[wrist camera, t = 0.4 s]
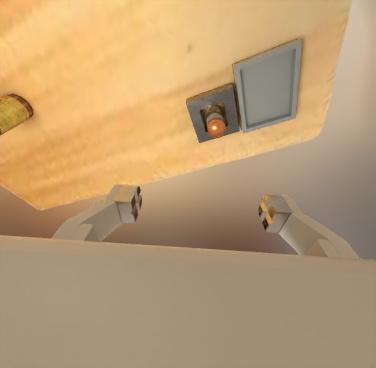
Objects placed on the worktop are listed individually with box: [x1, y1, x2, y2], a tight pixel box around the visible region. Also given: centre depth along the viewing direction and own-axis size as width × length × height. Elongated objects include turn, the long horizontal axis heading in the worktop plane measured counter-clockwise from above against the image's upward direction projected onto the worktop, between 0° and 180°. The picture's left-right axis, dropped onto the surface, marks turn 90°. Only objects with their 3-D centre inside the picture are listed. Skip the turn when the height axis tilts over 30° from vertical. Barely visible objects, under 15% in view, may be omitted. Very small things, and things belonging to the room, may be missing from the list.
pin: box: [205, 105, 226, 138], centre depth 41 cm, size 4×4×10 cm
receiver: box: [186, 83, 239, 143], centre depth 43 cm, size 11×11×4 cm
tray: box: [232, 39, 302, 133], centre depth 40 cm, size 16×13×2 cm
